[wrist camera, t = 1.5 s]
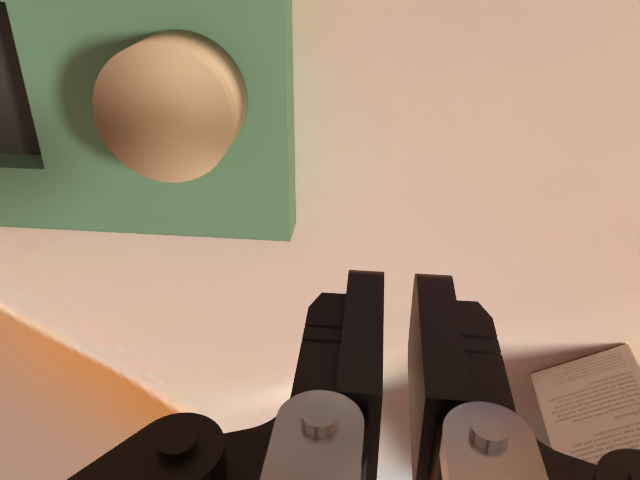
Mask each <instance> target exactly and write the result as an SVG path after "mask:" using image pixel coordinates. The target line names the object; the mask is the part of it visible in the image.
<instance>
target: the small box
mask: <svg viewBox="0 0 640 480" xmlns="http://www.w3.org/2000/svg"><path fill="white" fill-rule="evenodd" d="M531 379H532V383H533V386H534V390H535V393H536V396H537V400H538V404H539V407H540V410H541V414H542V417H543V421H544V424H545V427H546V431H547V434H548V438H549V441H550V445H551V448H552V449H554V450H556V451H558V452H561V453H563V454H566V455H569V456H572V457H575V458H578V459H581V460H584V461H587V462H590V463H593V464H596V465H597V463H598V461H599V460H600V459H601V457H602V456H604V455H605V454H606V453H608V452H610V451H613V450H617V449H625V448H630V449H639V450H640V366H639V364H638V362H637V360H636V358H635V356H634V354H633V352H632V350H631V348H630V347H629V345H627V344H624V345H621V346H618V347H615V348H611V349H608V350H605V351H602V352H599V353H596V354H593V355H590V356H586V357H583V358H580V359H577V360H573V361H570V362H567V363H564V364H561V365H557V366H554V367H551V368H548V369H544V370H541V371H538V372H535V373H532V374H531Z"/></svg>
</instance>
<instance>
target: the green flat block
mask: <svg viewBox="0 0 640 480" xmlns="http://www.w3.org/2000/svg"><path fill="white" fill-rule="evenodd" d="M170 29H181V30H189V31H193V32H196V33H199V34H202V35H204V36H206V37H208V38H210V39H212V40H213V41H214V42H216V43H217V44H219V45H220V46H221V47H222V48H223V49H225V50H226V51H227V53H228V54H229V55H230V56H231V57H232V58H233V60H234V61H235V63H236V64H237V66H238V68H239V69H240V71H241V73H242V76H243V78H244V81H245V85H246V89H247V96H248V108H247V115H246V118H245V122H244V124H243V126H242V128H241V130H240V132H239V133H238V135H237V136H236V138H235V139H234V141H233V143H232V144H231V146H230V147H229V149H228V150H227V152H226V153H225V155H224V156H223V158H222V159H221V160H220V162H219V163H218V164H217V165H216V166H215V167H214V168H213V169H212V170H211V171H209V172H208V173H206V174H205V175H203V176H201V177H199V178H196V179H194V180H190V181H186V182H179V183H169V182H161V181H156V180H152V179H150V178H147V177H144V176H142V175H140V174H138V173H136V172H134V171H133V170H131V169H130V168H128V167H127V166H126V165H124V164H123V163H122V162H121V161H120V160H119V159H117V158H116V157H115V156H114V154H113V153H112V152H111V151H110V150H109V148H108V147H107V145H106V144H105V142H104V141H103V139H102V137H101V135H100V133H99V131H98V128H97V126H96V123H95V119H94V114H93V106H92V99H93V90H94V86H95V82H96V79H97V77H98V75H99V73H100V71H101V70H102V68H103V67H104V65H105V64H106V63H107V62H108V61H109V60H110V59H111V58H112V57H113V56H114V55H116V54H117V53H119V52H121V51H122V50H124V49H126V48H128V47H130V46H132V45H133V44H135V43H137V42H139V41H141V40H143V39H145V38H146V37H148V36H150V35H152V34H154V33H157V32H160V31H164V30H170ZM295 224H296V205H295V154H294V103H293V52H292V1H291V0H0V226H1V227H21V228H40V229H60V230H79V231H98V232H118V233H137V234H157V235H176V236H196V237H215V238H235V239H254V240H273V241H291V237H292V234H293V230H294V227H295Z"/></svg>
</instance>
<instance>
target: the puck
mask: <svg viewBox="0 0 640 480" xmlns="http://www.w3.org/2000/svg"><path fill="white" fill-rule="evenodd" d="M92 106H93V114H94V119H95V123H96V126H97V128H98V131H99V133H100V135H101V137H102V139H103V141H104V142H105V144H106V145H107V147H108V148H109V150H110V151H111V152H112V153H113V154H114V156H115V157H116V158H117V159H119V160H120V161H121V162H122V163H123V164H124V165H126V166H127V167H128V168H130V169H131V170H133V171H134V172H136V173H138V174H140V175H142V176H144V177H147V178H150V179H152V180H156V181H161V182H169V183H179V182H186V181H190V180H194V179H196V178H199V177H201V176H203V175H205V174H206V173H208V172H209V171H211V170H212V169H213V168H214V167H215V166H216V165H217V164H218V163H219V162H220V160H221V159H222V158H223V156H224V155H225V153H226V152H227V150H228V149H229V147H230V146H231V144H232V143H233V141H234V139H235V138H236V136H237V135H238V133H239V132H240V130H241V128H242V126H243V124H244V122H245V118H246V115H247V108H248V96H247V89H246V85H245V81H244V78H243V76H242V73H241V71H240V69H239V68H238V66H237V64H236V63H235V61H234V60H233V58H232V57H231V56H230V55H229V54H228V53H227V51H226V50H225V49H223V48H222V47H221V46H220V45H219V44H217V43H216V42H214V41H213V40H212V39H210V38H208V37H206V36H204V35H202V34H199V33H196V32H193V31H189V30H181V29H170V30H164V31H160V32H157V33H154V34H152V35H150V36H148V37H146V38H145V39H143V40H141V41H139V42H137V43H135V44H133V45H132V46H130V47H128V48H126V49H124V50H122V51H121V52H119V53H117V54H116V55H114V56H113V57H112V58H111V59H110V60H109V61H108V62H107V63H106V64H105V65H104V67H103V68H102V70H101V71H100V73H99V75H98V77H97V79H96V82H95V86H94V90H93V99H92Z"/></svg>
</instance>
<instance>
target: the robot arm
mask: <svg viewBox="0 0 640 480" xmlns="http://www.w3.org/2000/svg"><path fill="white" fill-rule="evenodd" d="M383 321H384V272H376V271H358V270H349V274H348V283H347V292H346V294H336V293H321V294H320V295H319V296H318V297H317V299H316V300H315V301H314V302H313V303H312V304H311V305H310V306H309V308H308V313H307V318H306V323H305V328H304V333H303V338H302V343H301V348H300V353H299V358H298V363H297V368H296V373H295V378H294V383H293V388H292V393H291V397H290V399H289V400H287V401H286V402H285V403H284V404H283V405H282V406H281V408H280V409H279V411H278V413H277V416H276V417H275V418H273V419H272V420H271V421H269V422H267V423H265V424H263V425H260V426H257V427H254V428H250V429H245V430H240V431H235V432H229V433H224V434H223V432H222V430H221V428H220V427H219V425H218V424H217V423H216V422H214V421H213V420H212V419H210V418H208V417H206V416H204V415H201V414H196V413H176V414H171V415H168V416H164V417H162V418H160V419H158V420H155V421H154V422H152V423H150V424H149V425H147V426H146V427H144V428H143V429H141V430H140V431H138V432H137V433H135V434H134V435H132V436H131V437H129V438H128V439H126V440H125V441H123V442H122V443H121V444H119V445H118V446H116V447H115V448H113V449H112V450H110V451H109V452H107V453H106V454H104V455H103V456H101V457H100V458H98V459H97V460H96V461H94V462H92V463H91V464H89V465H88V466H86V467H85V468H83V469H82V470H81V471H79V472H77V473H76V474H75V475H73V476H71V477H70V478H68V479H67V480H376V479H377V465H378V451H379V437H380V423H381V409H382V395H383ZM408 378H409V403H410V427H411V451H412V475H413V480H640V450H639V449H630V448H625V449H617V450H613V451H610V452H608V453H606V454H605V455H604V456H602V457H601V459H600V460H599V461H598V463H597V465H596V464H593V463H590V462H587V461H584V460H581V459H578V458H575V457H572V456H569V455H566V454H563V453H561V452H558V451H556V450H554V449H552V448H550V447H548V446H546V445H544V444H543V443H541V442H540V441H538V440H537V439H536V437H535V435H534V432H533V430H532V429H531V427H530V426H529V425H528V423H527V422H526V421H525V420H524V419H523V418H522V417H520V416H519V415H518V414H517V413H516V410H515V406H514V402H513V398H512V394H511V390H510V386H509V382H508V378H507V374H506V370H505V366H504V362H503V358H502V355H501V350H500V346H499V342H498V340H497V334H496V330H495V326H494V322H493V318H492V317H491V316H490V315H489V314H488V313H487V311H486V310H485V309H484V308H483V307H482V306H481V305H480V304H479V303H478V302H474V301H457V300H456V295H455V289H454V283H453V278H452V276H450V275H431V274H415V278H414V286H413V297H412V308H411V318H410V329H409V341H408Z"/></svg>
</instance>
